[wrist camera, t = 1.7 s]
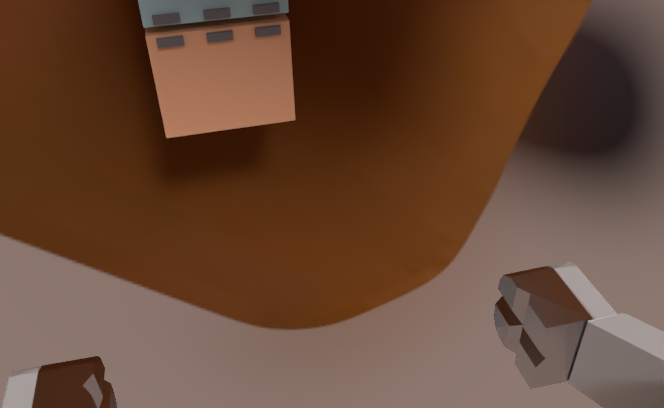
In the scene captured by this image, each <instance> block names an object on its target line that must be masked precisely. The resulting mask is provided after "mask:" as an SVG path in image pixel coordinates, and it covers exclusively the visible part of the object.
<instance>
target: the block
mask: <svg viewBox="0 0 664 408" xmlns="http://www.w3.org/2000/svg"><path fill="white" fill-rule="evenodd" d="M145 37H146V42H147V47H148V52H149V57H150V62H151V66H152V71H153V76H154V81H155V86H156V91H157V95H158V100H159V105H160V110H161V115H162V119H163V124H164V129H165V134H166V138H172V137H179V136H186V135H193V134H201V133H208V132H215V131H222V130H229V129H236V128H243V127H251V126H258V125H265V124H272V123H279V122H286V121H293V120H295V104H294V88H293V72H292V55H291V39H290V23H289V19H288V18H287V16H286V14H285V13H279V14H270V15H261V16H251V17H242V18H232V19H223V20H213V21H204V22H194V23H185V24H176V25H166V26H157V27H147V28H145Z"/></svg>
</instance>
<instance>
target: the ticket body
mask: <svg viewBox="0 0 664 408" xmlns="http://www.w3.org/2000/svg"><path fill="white" fill-rule="evenodd" d="M138 4H139V8H140V13H141V18H142V23H143V28H147V27H157V26H166V25H176V24H185V23H194V22H204V21H213V20H223V19H232V18H242V17H251V16H261V15H270V14H279V13H289V7H288V0H138Z"/></svg>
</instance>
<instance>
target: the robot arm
mask: <svg viewBox="0 0 664 408" xmlns="http://www.w3.org/2000/svg"><path fill="white" fill-rule="evenodd" d="M498 289H499V291H500V292H501V294H502V297H501V298H500V300H499V301H498V302H497V303H496V304H495V310H494V320H495V326H496V330H497V332H498V335H499V337H500V339H501V341H502V343H503V344H504V346H505V347H506V348H508V349H510V350H511V351H513V352H515V353H517V355H516V360H515V364H516V366H517V368H518V369H519V371H520V372H521V374H522V376H523V377H524V379H525V381H526V382H527V384H528V386H529V387H530V388H536V387H541V386H546V385H551V384H556V383H561V382H565V381H569V382H568V383H569V384H570V385H572V386H573V387H575V388H576V389H578V390H579V391H580V392H582V393H583V394H585V395H586V396H587V397H589V398H590V399H592V400H593V401H595V402H596V403H597V404H599V405H600V406H602V407H603V408H664V332H663V331H661V330H659V329H656V328H655V327H652V326H650V325H648V324H646V323H644V322H642V321H640V320H638V319H636V318H633V317H631V316H629V315H627V314H624V313H622V314H617V313H616V312H615V311H614V310H613V309H612V307H611V306H610V305H609V304H608V302H607V301H606V300H605V299H604V298H603V297H602V296H601V294H600V293H599V292H598V291H597V290H596V288H595V287H594V286H593V285H592V284H591V282H590V281H589V280H588V279H587V278H586V277H585V275H584V274H583V273H582V272H581V271H580V270H579V268H578V267H577V266H576V265H575V264H573V263H572V262H565V263H559V264H554V265H550V266H547V267H540V268H534V269H530V270H525V271H520V272H516V273H511V274H506V275H503V276H502V278H501V279H500V282H499V287H498ZM104 373H105V367H104V365H103V363H102V361H101V358H100V357H98V356H95V357H90V358H84V359H78V360H73V361H67V362H61V363H55V364H49V365H44V366H41V367H35V368H29V369H23V370H18V371H13V372H12V374H11V375H10V377H9V378H8V381H7V385H6V389H5V394H4V398H3V402H2V407H1V408H117V404H116V399H115V395H114V391H113V388H112V385H111V383H109V382H107V381H105V380H104Z"/></svg>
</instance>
